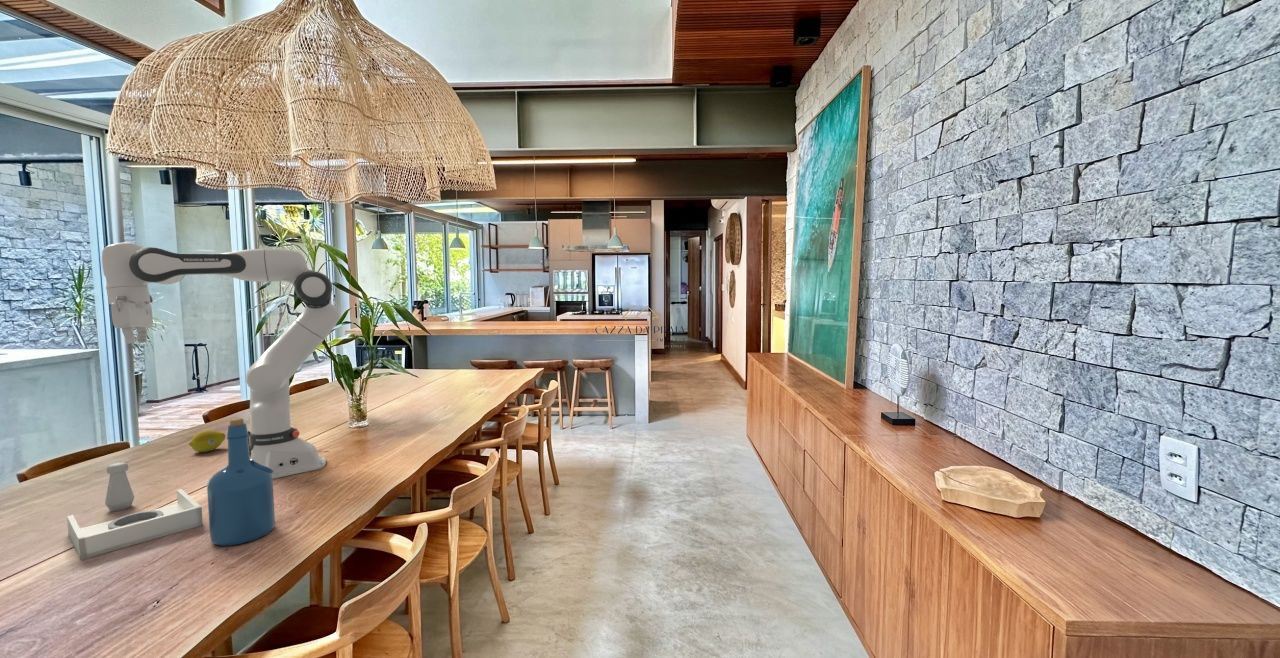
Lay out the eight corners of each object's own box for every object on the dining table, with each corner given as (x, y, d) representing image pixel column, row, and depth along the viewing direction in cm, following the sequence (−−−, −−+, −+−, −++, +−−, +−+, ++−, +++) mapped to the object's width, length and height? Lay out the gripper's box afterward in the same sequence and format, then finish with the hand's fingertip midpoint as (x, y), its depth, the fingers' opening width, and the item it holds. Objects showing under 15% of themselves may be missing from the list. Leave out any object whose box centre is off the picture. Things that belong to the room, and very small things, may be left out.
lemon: (190, 456, 190) (189, 435, 190) (188, 452, 196) (187, 431, 195) (227, 450, 198) (226, 430, 197) (225, 445, 203) (223, 426, 203)
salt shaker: (116, 513, 142) (112, 468, 141) (100, 511, 143) (96, 466, 142) (140, 504, 148) (136, 461, 147) (124, 503, 149) (121, 459, 148)
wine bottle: (222, 553, 121) (214, 429, 118) (200, 539, 128) (192, 421, 125) (287, 530, 132) (280, 416, 130) (263, 518, 139) (257, 410, 137)
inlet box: (68, 535, 130) (67, 516, 129) (182, 505, 147) (181, 489, 147) (80, 560, 118) (78, 539, 117) (202, 525, 135) (201, 506, 135)
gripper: (130, 294, 146) (139, 342, 147) (154, 298, 164) (161, 340, 164) (100, 296, 143) (109, 345, 144) (127, 300, 160) (135, 343, 161)
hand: (137, 342), depth 154 cm, fingers open, 8 cm apart
